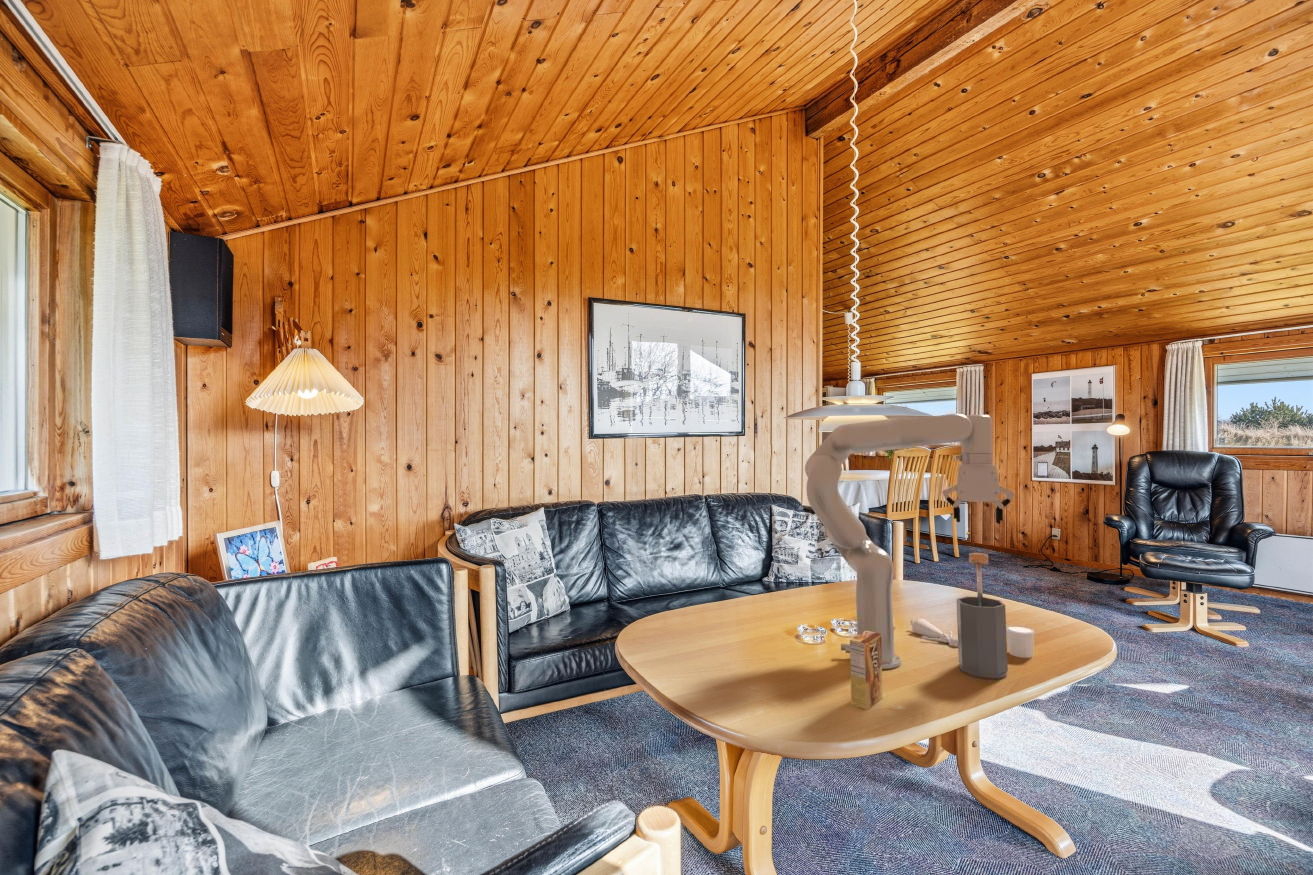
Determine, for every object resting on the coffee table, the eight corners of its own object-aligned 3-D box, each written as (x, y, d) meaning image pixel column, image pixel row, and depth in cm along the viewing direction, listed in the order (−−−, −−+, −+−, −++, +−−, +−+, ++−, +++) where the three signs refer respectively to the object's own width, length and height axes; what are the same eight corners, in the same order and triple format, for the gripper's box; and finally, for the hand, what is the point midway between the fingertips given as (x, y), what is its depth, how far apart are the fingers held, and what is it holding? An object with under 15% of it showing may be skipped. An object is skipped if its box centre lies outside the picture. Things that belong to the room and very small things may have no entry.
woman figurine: (928, 613, 189) (974, 634, 172) (928, 627, 190) (974, 649, 172) (899, 618, 186) (943, 639, 169) (899, 632, 186) (943, 654, 169)
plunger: (966, 622, 150) (964, 557, 150) (959, 612, 158) (957, 551, 158) (1003, 623, 148) (1001, 557, 148) (994, 614, 156) (992, 551, 156)
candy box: (866, 692, 142) (864, 629, 142) (884, 697, 139) (881, 632, 139) (850, 705, 135) (848, 639, 136) (868, 710, 132) (866, 642, 133)
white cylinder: (1021, 660, 159) (1020, 634, 159) (1000, 651, 166) (999, 626, 166) (1041, 656, 161) (1040, 631, 161) (1020, 648, 168) (1019, 624, 168)
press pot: (964, 677, 149) (962, 606, 149) (953, 657, 163) (950, 592, 163) (1012, 680, 146) (1009, 608, 146) (996, 660, 160) (994, 594, 160)
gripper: (942, 460, 160) (943, 522, 160) (1015, 460, 154) (1016, 525, 153) (941, 459, 167) (942, 519, 167) (1011, 459, 160) (1012, 522, 160)
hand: (977, 522), depth 160 cm, fingers open, 9 cm apart
